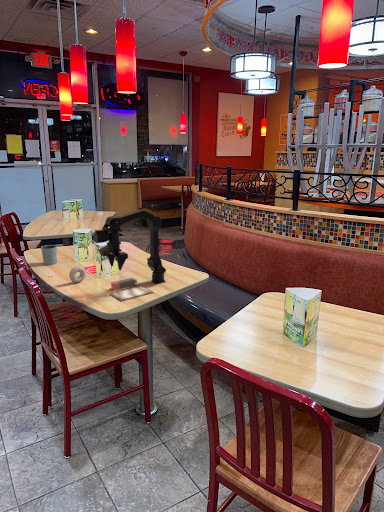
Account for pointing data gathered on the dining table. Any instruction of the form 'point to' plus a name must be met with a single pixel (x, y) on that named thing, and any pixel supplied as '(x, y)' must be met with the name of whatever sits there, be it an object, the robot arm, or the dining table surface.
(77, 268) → the donut
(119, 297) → the picture frame
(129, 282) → the marker
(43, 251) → the gray cup
